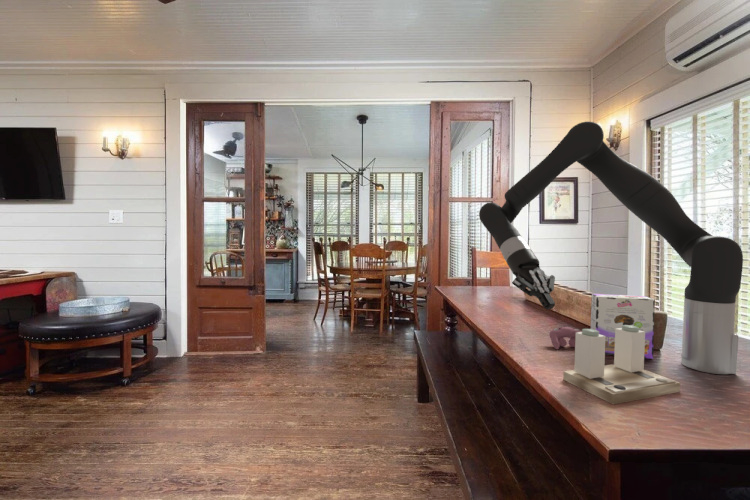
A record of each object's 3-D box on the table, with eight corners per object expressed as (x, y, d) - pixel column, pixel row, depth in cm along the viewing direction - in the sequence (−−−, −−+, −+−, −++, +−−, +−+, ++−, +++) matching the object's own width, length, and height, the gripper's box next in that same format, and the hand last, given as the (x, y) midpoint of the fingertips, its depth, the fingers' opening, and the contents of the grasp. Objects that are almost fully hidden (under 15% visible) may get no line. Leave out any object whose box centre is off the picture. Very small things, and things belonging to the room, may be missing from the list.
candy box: (644, 352, 98) (647, 295, 98) (653, 359, 93) (656, 299, 92) (589, 347, 103) (591, 292, 102) (594, 353, 97) (596, 295, 97)
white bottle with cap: (574, 371, 79) (575, 329, 78) (587, 369, 80) (589, 327, 79) (589, 378, 75) (591, 333, 74) (604, 376, 76) (605, 332, 76)
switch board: (563, 379, 80) (563, 369, 80) (624, 370, 85) (624, 361, 85) (613, 404, 68) (613, 392, 68) (679, 391, 74) (680, 380, 74)
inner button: (613, 366, 82) (615, 325, 82) (626, 364, 83) (628, 324, 83) (630, 372, 78) (632, 329, 78) (643, 370, 80) (645, 328, 79)
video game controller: (584, 352, 103) (579, 328, 106) (591, 350, 99) (586, 325, 102) (549, 351, 104) (546, 327, 107) (555, 349, 100) (551, 324, 103)
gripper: (505, 247, 94) (537, 300, 83) (545, 247, 98) (580, 298, 87) (492, 265, 99) (521, 317, 88) (530, 264, 103) (562, 314, 92)
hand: (550, 307), depth 88 cm, fingers closed
